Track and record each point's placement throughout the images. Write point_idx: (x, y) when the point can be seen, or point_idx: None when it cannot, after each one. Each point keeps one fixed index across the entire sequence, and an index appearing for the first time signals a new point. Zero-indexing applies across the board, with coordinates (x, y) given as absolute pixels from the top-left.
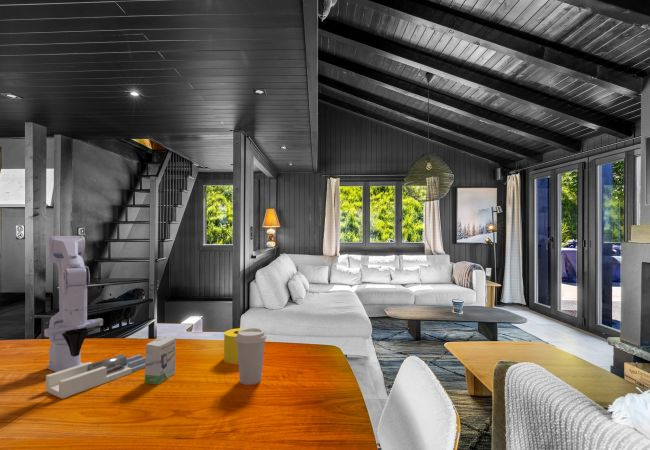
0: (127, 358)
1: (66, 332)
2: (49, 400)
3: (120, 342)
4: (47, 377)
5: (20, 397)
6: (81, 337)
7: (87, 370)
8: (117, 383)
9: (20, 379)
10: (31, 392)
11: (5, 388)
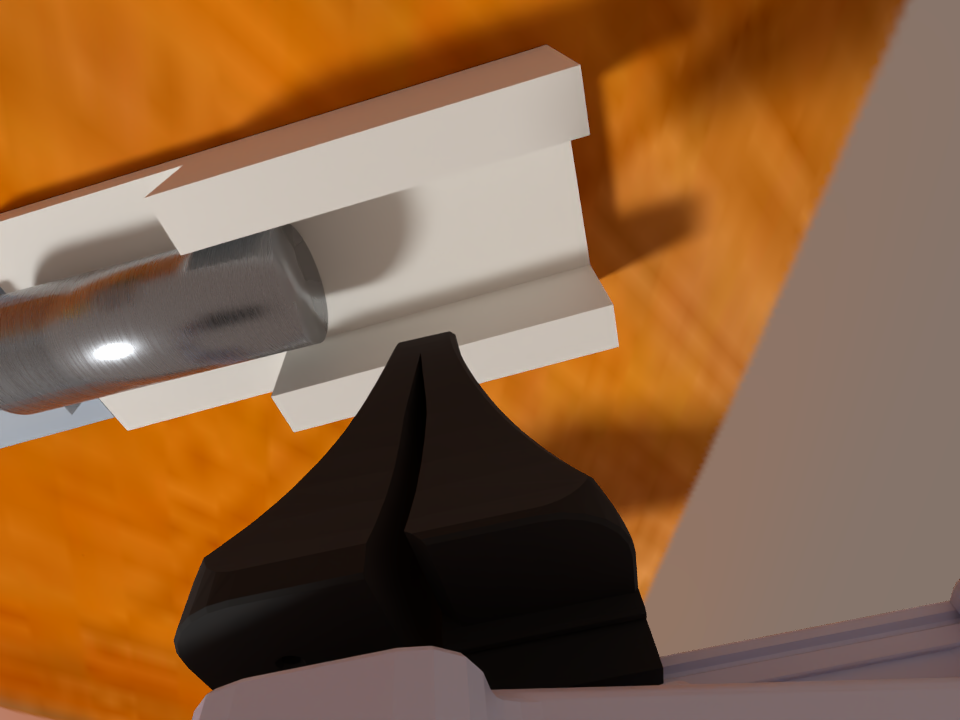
0: (14, 428)
1: (654, 649)
2: (619, 89)
3: (135, 705)
4: (613, 318)
5: (713, 286)
6: (351, 494)
7: (325, 326)
8: (97, 49)
9: (624, 517)
10: (647, 322)
11: (708, 453)
